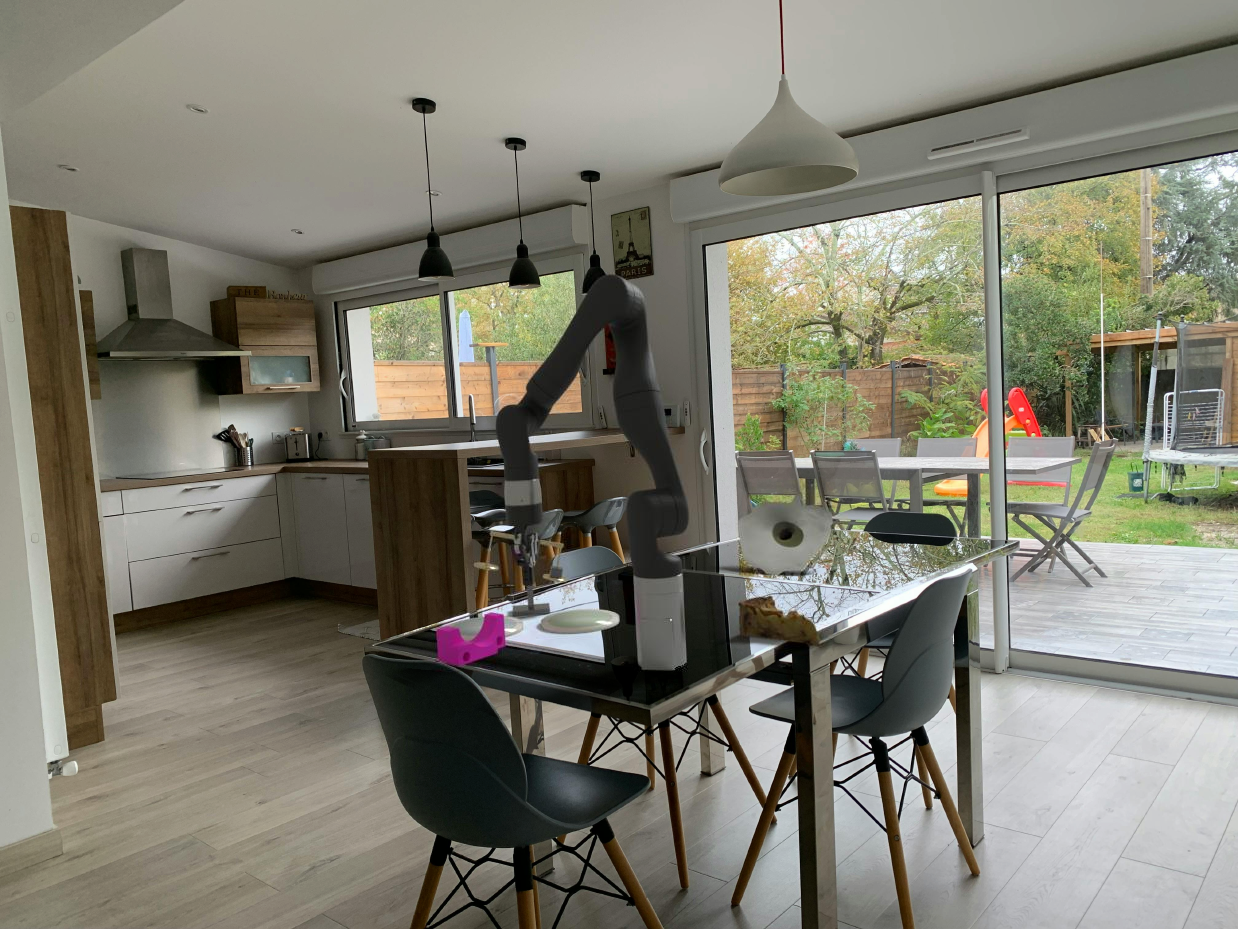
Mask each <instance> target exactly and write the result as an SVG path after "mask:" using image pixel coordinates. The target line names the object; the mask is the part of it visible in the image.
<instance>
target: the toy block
mask: <svg viewBox="0 0 1238 929" xmlns="http://www.w3.org/2000/svg"><path fill="white" fill-rule="evenodd" d="M483 617H484V622H483V625H482V628H481V630H480V631H479V633H478V634H477V636H476V637H475V638H473V639H472V640H470V641H468V642H467V641H465V640H464V639H463V638H462V636H461V634H460V631H459V628H455V627H450V626H448V625H445V626H442V627H439V628H436V645H437V659H438V660H437V661H442V662H447V663H449V665H453V666H456V667H457V666H458V667H460V666H463V665H466V664H469V663H472V662H475V661H478V660H481V659H484V658H487V657H490V656H492V655H496V654H498V650H499V649H501V648H503V647H507V646H506V637H505V626H504V617H505V615H504V613H498V612H492V611H491V612H487V613H484V615H483ZM442 662H441V663H442ZM447 663H446V664H447Z"/></svg>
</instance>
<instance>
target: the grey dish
mask: <svg viewBox="0 0 1238 929" xmlns="http://www.w3.org/2000/svg"><path fill="white" fill-rule="evenodd" d="M483 622H484V616H479V617H472V618H466V619H461V620H458V621H454V622H452V623H450V624H448V625H447V626H450V627H455V628H459V631H460V634H461V636H462V638H463V639H464V640H465V641H467V642H468V641H470V640H472V639H473V638H475V637H476V636H477V634H478V633H479V631H480V630H481V628H482V625H483ZM504 626H505V638H509V637H512V636H515V635H517V634H519V633H521V632H522V631H523V630H524V622H523V621H522V619H519V618H518V617H517V618H516V617H513V616H512V617H511V616H504Z"/></svg>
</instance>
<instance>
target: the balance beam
mask: <svg viewBox="0 0 1238 929" xmlns="http://www.w3.org/2000/svg"><path fill="white" fill-rule="evenodd" d="M514 535H515V534H509V533H505V532H504V533H503V532H497V531H493V530H491V531H490V532H489V536H491V537H490V540H489V546H488V550H487V556H486V562H474V563H473V566H474V568H477V569H480V570H485V571H499V568H500V567H499V566H498V565H496V564H493V563H488V562H489V558H490V552H491V548H492V542H493V537H498V538H502V539H508V540H509V539H510V540H514ZM540 545H543V546H550V547H555V548H559V551H558V556H557V562H556V566H554V565H551V566H550V571H549V573H544V574H543V575H542V578H543V579H545V580H546V581H549V582H550V581H551V582H556V583H567V582H568V578H567V577H565V576H563V571H564V569H563V567H561V566H559V564H560V560H561V553H562V549H563V548H564V543H561V542H555V541H549V540H545V539H544V540H543V539H541V540H540Z"/></svg>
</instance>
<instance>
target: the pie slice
mask: <svg viewBox="0 0 1238 929" xmlns="http://www.w3.org/2000/svg"><path fill="white" fill-rule="evenodd" d="M737 604H738V605H737V606H738V607H739V610H738V611H739V616H738V624H739V626H738V627H739V628H738V629H739V634H740V636H741V637H749V638H755V639H756V638H758V639H767V640H774V641H775V640H777V641H784V642H792V643H793V642H795V643H802V644H809V645H810V644H812V645H820V642H821V639H820V637H819V636H820V633H819V632H818V630H817V627H816V625H815V623H814V622H813V621H812V620H811V619H809V618H807V617H806V616H805V615H804V614H799V612H798V611H797V610H796V609H795V610H790V611H788V613H787V615H784V610H782V609H778V608H777V607H776V601H775V600H774V597H773V596H772V595H767V596H757V597H751V598H748V599H745V600H743V601H740V602H738V603H737Z"/></svg>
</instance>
